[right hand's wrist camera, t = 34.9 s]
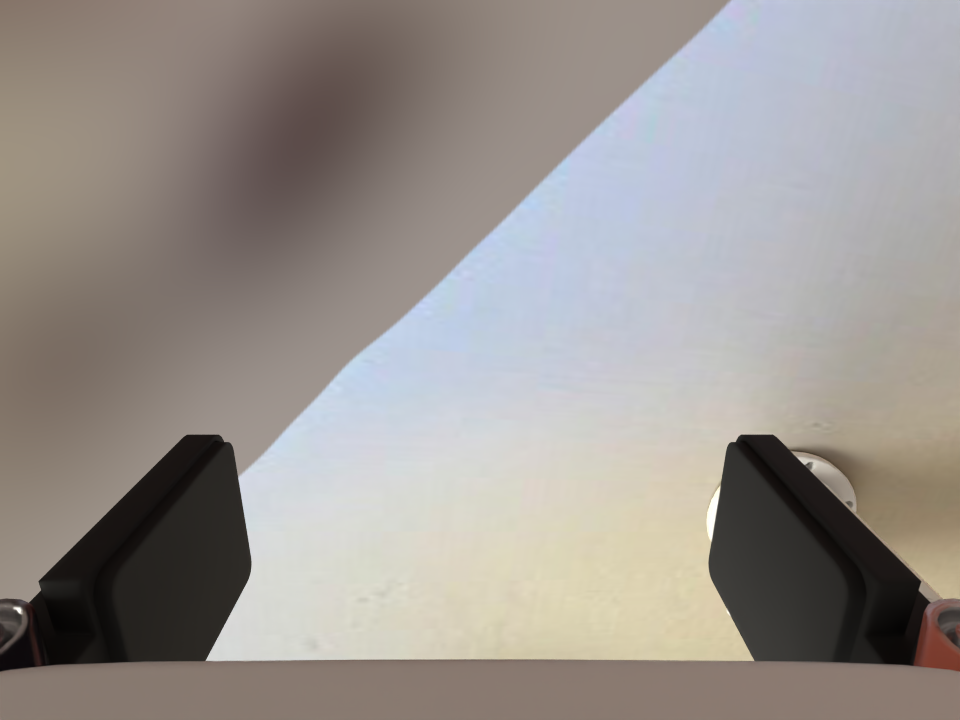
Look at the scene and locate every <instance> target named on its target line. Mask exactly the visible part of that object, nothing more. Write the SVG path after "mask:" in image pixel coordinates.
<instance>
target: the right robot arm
mask: <svg viewBox="0 0 960 720" xmlns="http://www.w3.org/2000/svg"><path fill="white" fill-rule="evenodd" d="M856 511H857V509H856V497H855V493H854V490H853V487H852V486H851V484H850V482H849V480H848V479H847V478H846V477H845V476H844V474H843V473H842V472H841V471H840V470H839V469H837V468H836V467H835V466H834V465H833V464H831V463H830V462H829V461H827V460H825V459H823V458H821V457H819V456H816V455H812V454H809V453H805V452H794V451H790V450H789V449H788V448H787V447H786V446H785V445H784V444H783V443H782V442H781V441H780V440H779V439H778V438H777V437H775V436H774V435H740V436H739V437H738V439H737V440H736V442H731V443H729V445H728V447H727V450H726V456H725V462H724V468H723V475H722V481H721V485H720V487H719V488H718V489H717V491H716V493H715V494H714V496H713V498H712V500H711V503H710V506H709V509H708V512H707V522H706V523H707V531H708V536H709V538H710V541H711V549H710V555H709V572H710V576H711V579H712V581H713V583H714V585H715V587H716V589H717V591H718V593H719V595H720V596H721V598H722V600H723V602H724V604H725V606H726V608H727V612H728V614H729V615H730V616H731V617H732V619H733V621H734V623H735V625H736V627H737V629H738V630H739V632H740V634H741V636H742V638H743V640H744V642H745V644H746V645H747V647H748V649H749V651H750V653H751V655H752V657H753V659H754V661H675V660H286V661H206V659H207V657H208V655H209V653H210V651H211V649H212V647H213V645H214V644H215V642H216V640H217V638H218V636H219V634H220V632H221V630H222V629H223V627H224V625H225V623H226V621H227V619H228V617H229V615H230V613H231V612H232V610H233V608H234V606H235V604H236V602H237V600H238V598H239V596H240V595H241V593H242V591H243V589H244V587H245V585H246V583H247V581H248V579H249V576H250V572H251V555H250V549H249V542H248V536H247V530H246V524H245V518H244V512H243V505H242V499H241V493H240V487H239V481H238V475H237V469H236V462H235V456H234V450H233V447H232V445H231V443H229V442H224V440H223V439H222V437H221V436H220V435H186V436H185V437H183V438H182V439H181V440H180V441H179V442H178V443H177V444H176V445H175V446H174V447H173V448H172V449H171V450H170V451H169V452H168V453H167V454H166V455H165V456H164V457H163V458H162V459H161V460H160V461H159V462H158V463H157V464H156V465H155V466H154V467H153V468H152V469H151V470H150V471H149V472H148V473H147V474H146V475H145V476H144V477H143V478H142V479H141V480H140V481H139V482H138V483H137V484H136V485H135V486H134V487H133V488H132V489H131V490H130V491H129V492H128V493H127V494H126V495H125V496H124V497H123V498H122V499H121V500H120V501H119V502H118V503H117V504H116V505H115V506H114V507H113V508H112V509H111V510H110V511H109V512H108V513H107V514H106V515H105V516H104V517H103V518H102V519H101V520H100V521H99V522H98V523H97V524H96V525H95V526H94V527H93V528H92V529H91V530H90V531H89V532H88V533H87V534H86V535H85V536H84V537H83V538H82V539H81V540H80V541H79V542H78V543H77V544H76V545H75V546H74V547H73V548H72V549H71V550H70V551H69V552H68V553H67V554H66V555H65V556H64V557H62V558H61V560H59V561H58V562H57V563H56V564H55V565H54V566H53V567H52V568H51V569H50V570H49V571H48V572H47V573H46V575H44V576H43V577H42V578H41V579H40V580H39V585H40V588H41V591H40V592H39V593H38V594H37V595H36V596H35V597H34V598H33V599H32V600H31V601H30V602H29V603H28V602H25V601H23V600H20V599H0V720H960V599H943V598H942V597H941V596H940V595H939V594H938V593H937V592H936V591H935V590H934V589H933V588H932V587H931V586H930V585H928V584H927V583H926V582H925V581H924V580H923V579H922V578H921V577H920V576H919V575H918V574H917V573H916V572H915V571H914V570H913V569H912V568H911V567H910V566H909V565H908V564H907V563H906V562H905V561H904V560H903V559H902V558H901V557H900V556H899V555H898V554H897V553H896V552H895V551H894V550H893V549H892V548H891V547H890V546H889V545H888V544H887V543H886V542H885V541H884V540H883V539H882V538H881V537H880V536H879V535H878V534H877V533H876V532H875V531H874V530H873V529H872V528H871V527H870V526H869V525H868V524H867V523H866V522H865V521H864V520H863V519H862V518H860V517H859V516H858V515H857V514H856Z"/></svg>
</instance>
